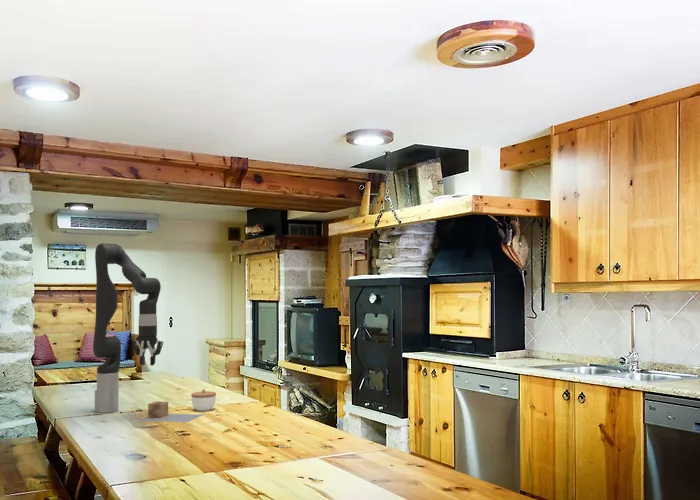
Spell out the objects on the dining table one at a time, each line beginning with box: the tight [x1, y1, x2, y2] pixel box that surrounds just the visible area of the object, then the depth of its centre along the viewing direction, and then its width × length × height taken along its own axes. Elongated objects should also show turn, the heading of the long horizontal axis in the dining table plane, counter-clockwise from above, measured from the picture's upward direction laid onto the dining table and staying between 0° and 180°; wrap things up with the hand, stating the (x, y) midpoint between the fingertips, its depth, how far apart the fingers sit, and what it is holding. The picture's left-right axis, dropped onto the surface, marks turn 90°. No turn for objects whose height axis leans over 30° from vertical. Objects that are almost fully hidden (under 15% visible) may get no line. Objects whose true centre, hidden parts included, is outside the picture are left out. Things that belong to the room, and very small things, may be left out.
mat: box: [137, 413, 203, 423], centre depth 275 cm, size 22×16×1 cm
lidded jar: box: [190, 388, 217, 412], centre depth 293 cm, size 11×11×9 cm
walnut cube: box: [147, 401, 169, 419], centre depth 276 cm, size 6×6×6 cm
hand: (147, 365), depth 279 cm, fingers open, 3 cm apart
